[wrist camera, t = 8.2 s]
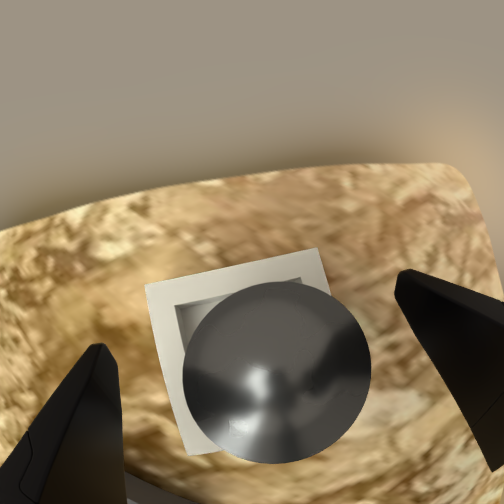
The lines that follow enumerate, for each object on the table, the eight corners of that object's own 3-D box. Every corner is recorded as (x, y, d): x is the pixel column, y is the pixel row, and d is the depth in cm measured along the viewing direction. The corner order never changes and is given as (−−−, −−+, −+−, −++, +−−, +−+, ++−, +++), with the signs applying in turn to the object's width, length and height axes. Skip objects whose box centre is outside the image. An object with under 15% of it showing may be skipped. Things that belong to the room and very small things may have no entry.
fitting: (245, 417, 14) (267, 500, 6) (183, 347, 15) (132, 359, 6) (316, 358, 15) (408, 374, 7) (257, 288, 16) (292, 233, 8)
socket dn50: (339, 400, 15) (358, 409, 13) (193, 438, 14) (188, 456, 11) (303, 260, 18) (317, 247, 15) (157, 293, 16) (144, 284, 14)
